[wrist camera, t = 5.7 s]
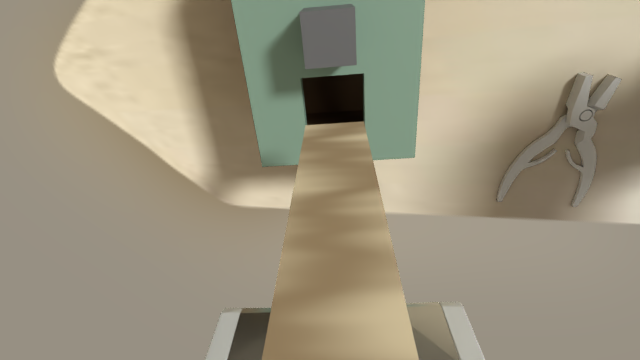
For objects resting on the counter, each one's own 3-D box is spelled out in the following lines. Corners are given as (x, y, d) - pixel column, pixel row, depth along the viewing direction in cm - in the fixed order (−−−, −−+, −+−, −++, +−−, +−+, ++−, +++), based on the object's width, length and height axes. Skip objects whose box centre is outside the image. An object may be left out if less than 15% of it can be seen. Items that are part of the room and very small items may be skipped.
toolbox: (399, -111, 26) (429, -151, 18) (393, 113, 35) (411, 151, 27) (247, -94, 27) (213, -125, 19) (279, 121, 36) (264, 160, 28)
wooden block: (363, 121, 17) (422, 376, 6) (364, 172, 19) (413, 453, 8) (305, 125, 18) (257, 379, 6) (311, 175, 19) (280, 454, 8)
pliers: (498, 205, 39) (552, 72, 31) (493, 197, 40) (543, 68, 33) (583, 211, 39) (657, 80, 32) (574, 203, 40) (643, 76, 33)
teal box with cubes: (424, -144, 19) (457, -189, 14) (409, 145, 28) (425, 180, 23) (218, -120, 20) (181, -154, 15) (266, 154, 29) (253, 190, 24)
